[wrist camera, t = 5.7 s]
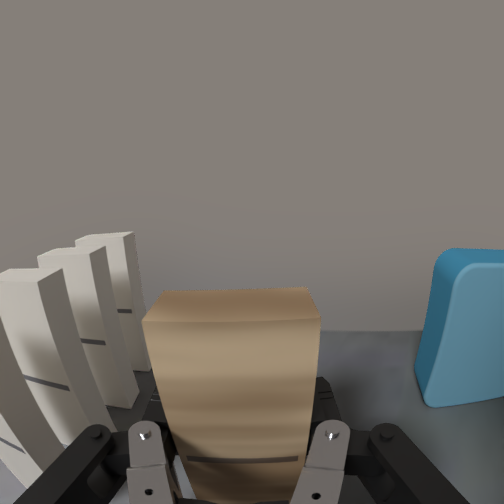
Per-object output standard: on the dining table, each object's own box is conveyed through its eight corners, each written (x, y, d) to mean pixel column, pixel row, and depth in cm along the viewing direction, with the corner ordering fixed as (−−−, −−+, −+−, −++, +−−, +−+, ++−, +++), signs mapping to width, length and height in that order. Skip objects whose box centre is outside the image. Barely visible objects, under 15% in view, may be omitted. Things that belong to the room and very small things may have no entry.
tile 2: (83, 514, 9) (-40, 329, 6) (26, 488, 9) (-78, 315, 6) (95, 488, 11) (-3, 305, 8) (39, 466, 11) (-49, 298, 8)
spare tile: (294, 514, 11) (321, 318, 8) (204, 514, 11) (141, 321, 8) (291, 483, 13) (306, 286, 10) (208, 483, 13) (163, 290, 10)
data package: (508, 366, 18) (539, 250, 16) (525, 392, 14) (567, 264, 11) (409, 377, 22) (435, 246, 19) (419, 410, 17) (457, 263, 14)
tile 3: (108, 457, 14) (36, 282, 11) (55, 441, 14) (-15, 280, 11) (119, 434, 17) (62, 267, 13) (67, 422, 17) (9, 268, 14)
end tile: (149, 371, 25) (122, 236, 22) (105, 367, 25) (74, 240, 22) (156, 358, 27) (134, 231, 24) (114, 354, 27) (88, 234, 24)
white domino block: (131, 409, 20) (88, 253, 16) (82, 400, 20) (36, 256, 17) (139, 391, 22) (105, 245, 19) (92, 384, 22) (55, 248, 19)
